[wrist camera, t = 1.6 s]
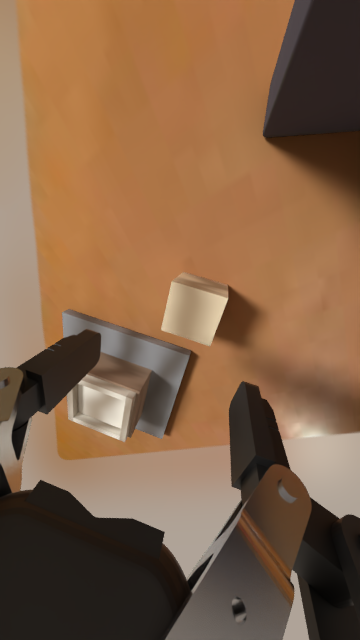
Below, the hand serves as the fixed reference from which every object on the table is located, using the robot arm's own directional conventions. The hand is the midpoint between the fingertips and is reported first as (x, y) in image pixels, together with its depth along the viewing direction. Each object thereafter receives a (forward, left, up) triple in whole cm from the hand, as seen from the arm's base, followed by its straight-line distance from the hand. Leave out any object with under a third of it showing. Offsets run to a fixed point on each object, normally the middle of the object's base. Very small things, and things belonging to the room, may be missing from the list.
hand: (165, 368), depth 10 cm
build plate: (+8, +16, -12) cm, 22 cm away
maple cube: (0, 0, -13) cm, 13 cm away
